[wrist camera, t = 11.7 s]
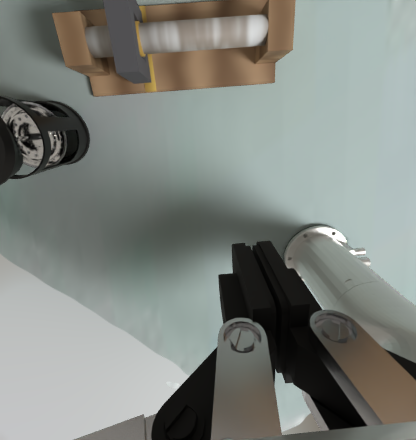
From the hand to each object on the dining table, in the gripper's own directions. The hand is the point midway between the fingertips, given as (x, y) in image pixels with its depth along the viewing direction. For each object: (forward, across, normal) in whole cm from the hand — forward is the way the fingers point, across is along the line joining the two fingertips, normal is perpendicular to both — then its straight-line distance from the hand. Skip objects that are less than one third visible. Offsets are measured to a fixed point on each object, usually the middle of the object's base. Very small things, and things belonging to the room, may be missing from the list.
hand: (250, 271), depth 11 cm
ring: (+30, +9, -16) cm, 35 cm away
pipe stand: (+32, +3, -16) cm, 36 cm away
